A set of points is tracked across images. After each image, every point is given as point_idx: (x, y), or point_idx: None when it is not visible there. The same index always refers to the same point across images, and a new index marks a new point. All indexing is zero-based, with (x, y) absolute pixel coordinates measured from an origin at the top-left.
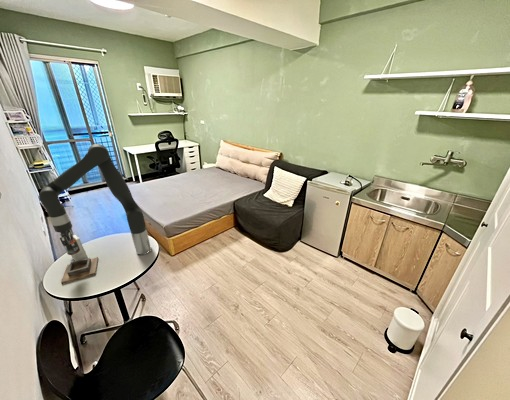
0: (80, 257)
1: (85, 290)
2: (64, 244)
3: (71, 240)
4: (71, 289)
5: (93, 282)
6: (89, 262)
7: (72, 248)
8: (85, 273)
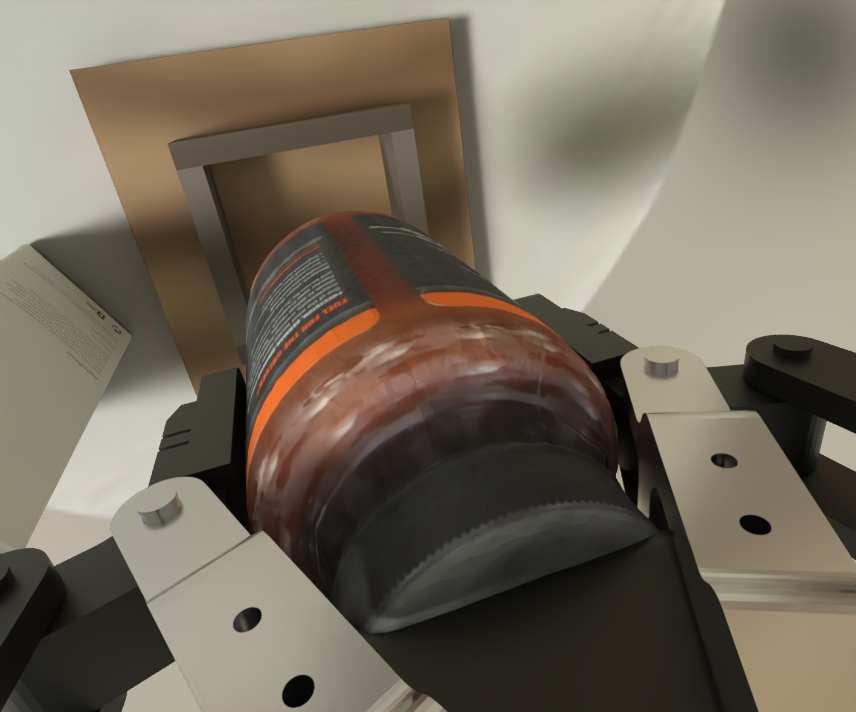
0: (77, 313)
1: (647, 72)
2: (820, 462)
3: (574, 388)
4: (576, 213)
5: (566, 16)
6: (274, 125)
7: (534, 298)
8: (425, 139)
